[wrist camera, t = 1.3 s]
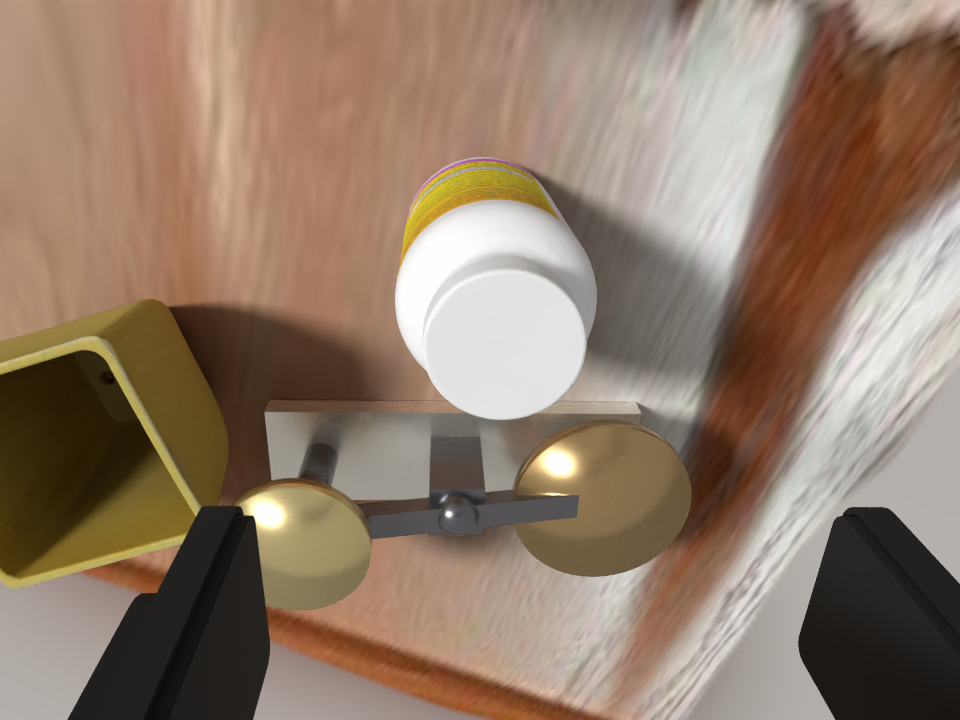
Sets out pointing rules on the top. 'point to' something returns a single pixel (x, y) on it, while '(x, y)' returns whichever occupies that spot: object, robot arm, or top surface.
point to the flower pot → (103, 443)
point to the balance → (457, 488)
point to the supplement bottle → (494, 290)
